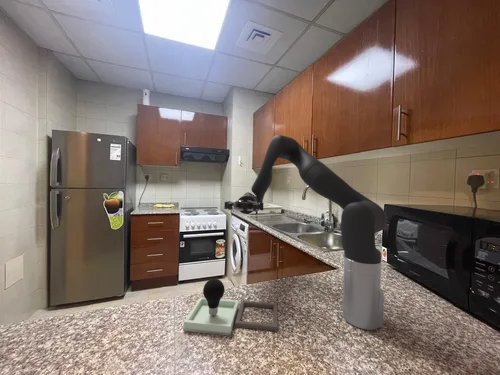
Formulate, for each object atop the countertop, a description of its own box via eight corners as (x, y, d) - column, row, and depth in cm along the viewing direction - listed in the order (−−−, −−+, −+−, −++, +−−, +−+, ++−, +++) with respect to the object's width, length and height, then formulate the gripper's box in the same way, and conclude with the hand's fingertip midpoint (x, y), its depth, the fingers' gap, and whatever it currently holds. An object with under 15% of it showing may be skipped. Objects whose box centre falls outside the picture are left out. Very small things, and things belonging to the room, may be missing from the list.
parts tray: (238, 308, 63) (238, 300, 63) (230, 335, 51) (230, 326, 51) (200, 304, 64) (200, 297, 64) (183, 330, 52) (183, 321, 52)
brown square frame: (276, 306, 64) (276, 303, 64) (277, 331, 53) (277, 327, 53) (241, 303, 65) (241, 300, 65) (234, 326, 54) (235, 322, 54)
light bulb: (219, 323, 54) (220, 285, 54) (198, 320, 55) (199, 282, 55) (226, 311, 60) (227, 276, 60) (207, 308, 61) (208, 274, 61)
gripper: (230, 194, 87) (221, 195, 71) (264, 195, 85) (263, 196, 69) (230, 212, 87) (220, 217, 71) (264, 213, 85) (262, 219, 69)
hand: (241, 207), depth 70 cm, fingers open, 8 cm apart
